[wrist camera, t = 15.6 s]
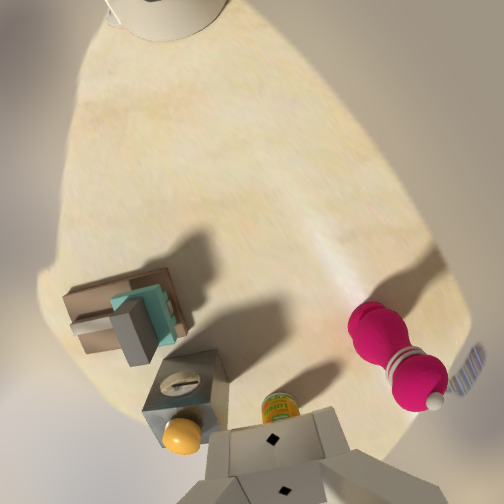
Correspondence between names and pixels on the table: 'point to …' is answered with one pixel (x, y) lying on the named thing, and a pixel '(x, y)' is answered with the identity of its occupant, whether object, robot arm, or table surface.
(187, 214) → the table surface
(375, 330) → the pepper mill
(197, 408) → the cabinet
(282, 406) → the supplement bottle
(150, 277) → the rail board
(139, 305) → the carriage
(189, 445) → the button
